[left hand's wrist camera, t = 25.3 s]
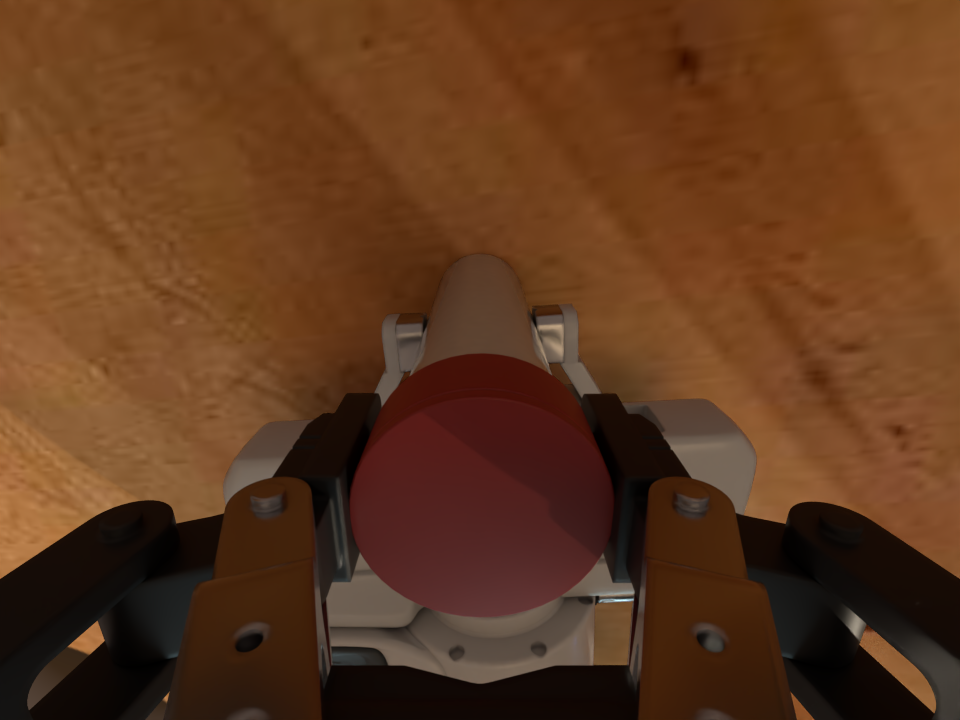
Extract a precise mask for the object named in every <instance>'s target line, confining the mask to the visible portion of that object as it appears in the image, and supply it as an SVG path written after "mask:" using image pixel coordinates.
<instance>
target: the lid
mask: <svg viewBox="0 0 960 720" xmlns="http://www.w3.org/2000/svg"><path fill="white" fill-rule="evenodd" d="M614 501H615V494H614V487H613V484H612V480H611V476H610V473H609V471H608V469H607V466H606V464H605V462H604V459H603V457H602V454H601V452H600V450H599V447H598V445H597V443H596V440H595V438H594V435H593V433H592V431H591V428H590V426H589V424H588V421H587V419H586V417H585V415H584V412H583V410H582V408H581V406H580V405H579V403H578V402H577V400H576V399H575V397H574V396H573V395H572V394H571V392H570V391H569V390H568V389H567V388H566V387H565V386H564V385H563V384H562V383H561V382H560V381H559V380H557V379H556V378H555V377H554V376H552V375H551V374H549V373H548V372H546V371H545V370H543V369H542V368H539V367H537V366H535V365H533V364H531V363H529V362H526V361H523V360H520V359H517V358H514V357H510V356H505V355H499V354H487V353H477V354H465V355H459V356H453V357H449V358H446V359H443V360H440V361H437V362H434V363H432V364H430V365H428V366H426V367H423V368H422V369H420V370H419V371H417V372H415V373H414V374H412V375H411V376H409V377H408V378H407V379H406V380H405V381H403V382H402V383H401V384H400V385H399V386H398V387H397V388H396V389H395V390H394V391H393V392H392V393H391V395H390V396H389V397H388V399H387V400H386V402H385V403H384V405H383V406H382V408H381V410H380V412H379V414H378V417H377V419H376V421H375V424H374V426H373V429H372V431H371V434H370V436H369V438H368V441H367V443H366V446H365V448H364V451H363V453H362V456H361V458H360V461H359V463H358V466H357V468H356V471H355V473H354V477H353V480H352V483H351V486H350V493H349V509H350V519H351V527H352V534H353V537H354V540H355V543H356V545H357V547H358V549H359V551H360V553H361V555H362V557H363V558H364V560H365V561H366V563H367V564H368V565H369V567H370V568H371V570H372V571H373V572H374V573H375V574H376V575H377V576H378V577H379V578H380V579H381V580H382V581H383V582H384V583H385V584H387V585H388V586H389V587H390V588H391V589H393V590H394V591H396V592H397V593H399V594H400V595H402V596H403V597H405V598H407V599H409V600H411V601H413V602H415V603H417V604H419V605H421V606H424V607H426V608H429V609H432V610H435V611H439V612H442V613H446V614H451V615H457V616H463V617H479V618H481V617H499V616H506V615H513V614H517V613H521V612H525V611H528V610H531V609H534V608H537V607H540V606H542V605H544V604H546V603H549V602H551V601H553V600H555V599H557V598H558V597H560V596H561V595H563V594H565V593H566V592H568V591H569V590H570V589H572V588H573V587H574V586H575V585H577V584H578V583H579V582H580V581H581V580H582V579H583V578H584V577H585V576H586V575H587V574H588V573H589V572H590V571H591V570H592V569H593V567H594V566H595V565H596V563H597V562H598V561H599V559H600V557H601V556H602V554H603V552H604V550H605V548H606V547H607V544H608V541H609V539H610V535H611V528H612V520H613V511H614Z"/></svg>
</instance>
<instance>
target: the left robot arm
mask: <svg viewBox="0 0 960 720" xmlns="http://www.w3.org/2000/svg"><path fill="white" fill-rule="evenodd" d="M381 408H382V405H381V398H380V395H379V393H347V394H346V395H345V397H344V398H343V400H342V402H341V404H340V405H339V407H338V409H337V410H336V412H335V413H323V414H322V415H320V416H319V417H317V418H316V419H314V420H313V421H311V422H310V423H308V424H307V426H306V427H305V429H304V430H303V432H302V433H301V435H300V436H299V439H297V441H296V442H295V444H294V445H293V448H292V449H291V450H290V451H289V453H288V454H287V456H286V457H285V459H284V460H283V462H282V463H281V465H280V466H279V467H278V469H277V470H276V472H275V473H274V475H273V476H272V478H268V479H263V480H260V481H257V482H254V483H252V484H250V485H248V486H246V487H244V488H242V489H241V490H239V491H238V492H237V493H235V494H234V495H233V496H232V497H231V498H230V499H229V501H228V502H227V504H226V507H225V512H224V514H221V515H216V516H212V517H207V518H202V519H197V520H192V521H187V522H182V523H177V524H176V521H175V517H174V513H173V510H172V508H171V507H170V506H169V505H168V504H166V503H164V502H161V501H154V500H145V501H137V502H131V503H127V504H123V505H120V506H117V507H114V508H112V509H109V510H107V511H104V512H102V513H100V514H99V515H97V516H95V517H93V518H92V519H90V520H88V521H87V522H85V523H84V524H82V525H81V526H79V527H78V528H76V529H75V530H73V531H72V532H70V533H69V534H67V535H66V536H64V537H63V538H61V539H60V540H58V541H57V542H55V543H54V544H52V545H51V546H49V547H48V548H46V549H45V550H43V551H42V552H40V553H39V554H37V555H36V556H34V557H33V558H31V559H30V560H28V561H27V562H25V563H24V564H22V565H21V566H19V567H18V568H16V569H15V570H13V571H12V572H10V573H9V574H7V575H6V576H4V577H3V578H1V579H0V720H145V719H146V718H147V717H148V716H149V715H150V713H151V712H152V711H153V710H154V709H155V708H156V706H157V705H158V704H159V703H160V702H161V701H162V700H163V698H164V697H165V696H166V695H167V694H168V693H169V691H170V693H169V697H168V701H167V706H166V710H165V714H164V719H163V720H797V718H796V714H795V710H794V706H793V701H792V697H791V693H792V694H793V695H794V696H795V697H796V698H797V699H798V701H799V702H800V703H801V704H802V705H803V706H804V708H805V709H806V710H807V711H808V712H809V713H810V715H811V716H812V717H813V718H814V719H815V720H960V579H959V578H957V577H956V576H954V575H953V574H951V573H950V572H948V571H947V570H945V569H944V568H942V567H941V566H939V565H938V564H936V563H935V562H933V561H932V560H930V559H929V558H927V557H926V556H924V555H923V554H921V553H920V552H918V551H917V550H915V549H914V548H912V547H911V546H909V545H908V544H906V543H905V542H903V541H902V540H900V539H899V538H897V537H896V536H894V535H893V534H891V533H890V532H888V531H887V530H885V529H884V528H882V527H881V526H879V525H878V524H876V523H875V522H873V521H872V520H870V519H868V518H867V517H865V516H863V515H861V514H859V513H857V512H854V511H852V510H850V509H847V508H844V507H841V506H837V505H834V504H829V503H823V502H803V503H799V504H796V505H794V506H793V507H792V508H791V509H790V511H789V514H788V518H787V521H786V524H783V523H778V522H773V521H768V520H763V519H758V518H753V517H749V516H745V515H741V514H738V513H736V512H735V507H734V504H733V502H732V501H731V499H730V498H729V497H728V496H727V495H726V494H725V493H724V492H722V491H721V490H719V489H718V488H716V487H714V486H712V485H710V484H708V483H706V482H703V481H700V480H697V479H692V478H691V476H690V475H689V473H688V472H687V470H686V469H685V467H684V466H683V464H682V463H681V461H680V460H679V459H678V457H677V456H676V454H675V453H674V451H673V450H671V447H670V445H669V444H668V442H667V441H666V439H664V436H663V435H662V433H661V432H660V431H659V429H658V428H657V426H656V425H655V424H654V423H652V422H651V421H649V420H648V419H646V418H645V417H643V416H642V415H640V414H628V413H627V411H626V409H625V408H624V406H623V404H622V403H621V401H620V399H619V398H618V396H617V394H584V395H583V397H582V402H581V408H582V410H583V412H584V415H585V417H586V419H587V421H588V424H589V426H590V428H591V431H592V433H593V435H594V438H595V440H596V443H597V445H598V447H599V450H600V452H601V454H602V457H603V459H604V462H605V464H606V466H607V469H608V471H609V473H610V476H611V480H612V484H613V487H614V494H615V501H614V511H613V520H612V528H611V535H610V539H609V541H608V544H607V547H606V548H605V550H604V552H603V554H604V557H605V560H606V564H607V567H608V570H609V573H610V576H611V579H612V582H613V583H632V586H633V589H634V591H635V592H634V599H633V606H632V615H631V627H630V639H629V651H628V663H627V665H555V666H551V667H547V668H543V669H539V670H536V671H532V672H528V673H524V674H520V675H516V676H512V677H508V678H504V679H500V680H496V681H493V682H489V683H483V684H477V683H471V682H467V681H464V680H460V679H456V678H452V677H448V676H444V675H440V674H436V673H432V672H428V671H424V670H421V669H417V668H413V667H409V666H405V665H333V663H332V651H331V639H330V627H329V615H328V606H327V599H326V598H327V596H328V593H329V590H330V587H331V584H332V582H351V580H352V577H353V573H354V570H355V567H356V564H357V560H358V557H359V554H360V551H359V549H358V547H357V545H356V543H355V540H354V537H353V534H352V527H351V519H350V509H349V493H350V486H351V483H352V480H353V477H354V473H355V471H356V468H357V466H358V463H359V461H360V458H361V456H362V453H363V451H364V448H365V446H366V443H367V441H368V438H369V436H370V434H371V431H372V429H373V426H374V424H375V421H376V419H377V417H378V414H379V412H380V410H381ZM97 620H98V623H99V626H100V628H101V631H102V634H103V637H104V639H105V641H104V642H103V643H102V644H101V645H100V646H99V647H98V648H97V649H96V650H95V651H93V652H92V653H91V654H90V655H89V656H88V657H87V658H86V659H85V660H84V661H83V662H81V663H80V664H79V665H78V666H77V667H76V668H75V669H74V670H73V671H72V672H71V673H69V674H68V675H67V676H66V677H65V678H64V679H63V680H62V681H61V682H60V683H59V684H58V685H56V686H55V687H54V688H53V689H52V690H51V691H50V692H49V693H48V694H47V695H46V696H44V697H43V698H42V699H41V700H40V701H39V702H38V703H37V704H36V705H35V706H34V707H32V708H31V709H30V710H28V706H27V698H28V693H29V690H30V688H31V686H32V683H33V682H34V680H35V678H36V677H37V675H38V674H39V673H40V671H41V670H42V669H43V668H44V667H45V666H46V665H47V664H48V663H49V662H50V661H51V660H52V659H54V658H55V657H56V656H57V655H58V654H59V653H60V652H62V651H63V650H64V649H65V648H66V647H67V646H69V645H70V644H71V643H72V642H73V641H74V640H75V639H77V638H78V637H79V636H80V635H81V634H82V633H84V632H85V631H86V630H87V629H88V628H89V627H90V626H92V625H93V624H94V623H95V622H96V621H97ZM866 624H867V625H868V626H870V627H871V628H872V629H873V630H874V631H875V632H877V633H878V634H879V635H880V636H881V637H882V638H883V639H885V640H886V641H887V642H888V643H889V644H890V645H892V646H893V647H894V648H895V649H896V650H897V651H898V652H900V653H901V654H902V655H903V656H904V657H905V658H907V659H908V660H909V661H910V662H911V663H912V664H913V665H914V666H916V667H917V668H918V669H919V670H920V672H921V673H922V674H923V675H924V677H925V678H926V679H927V681H928V682H929V684H930V686H931V688H932V690H933V692H934V695H935V699H936V711H935V713H933V712H932V711H931V710H930V709H929V708H928V707H926V706H925V705H924V704H923V703H922V702H921V701H920V700H919V699H918V698H917V697H916V696H914V695H913V694H912V693H911V692H910V691H909V690H908V689H907V688H906V687H905V686H904V685H903V684H901V683H900V682H899V681H898V680H897V679H896V678H895V677H894V676H893V675H892V674H891V673H889V672H888V671H887V670H886V669H885V668H884V667H883V666H882V665H881V664H880V663H879V662H877V661H876V660H875V659H874V658H873V657H872V656H871V655H870V654H869V653H868V652H867V651H866V650H864V649H863V648H862V647H861V646H860V645H859V644H860V641H861V638H862V635H863V633H864V630H865V627H866ZM790 691H791V693H790Z"/></svg>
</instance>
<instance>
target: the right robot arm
mask: <svg viewBox="0 0 960 720" xmlns="http://www.w3.org/2000/svg"><path fill="white" fill-rule="evenodd" d="M532 317H533V320H534V323H535V326H536V329H537V332H538V335H539V338H540V340H541V343H542V346H543V349H544V352H545V355H546V358H547V360H548V363H560V365H561V366H562V368H563V369H564V371H565V373H566V374H567V376H568V377H569V379H570V380H571V382H572V384H570V385H564V386H565V387H566V388H567V389H568V390H569V391H570V392H571V394H572V395H573V396H574V397H575V399H576V400H577V402H578V403H579V405H580V406H581V402H582V397H583V395H584V394H602V393H601V391H600V389H599V387H598V385H597V383H596V381H595V380H594V378H593V377H592V375H591V374H590V372H589V370H588V369H587V367H586V366H585V364H584V362H583V361H582V359H581V358H580V356H579V354H578V317H577V312H576V310H575V308H574V307H573V305H572V304H555V305H541V306H533V307H532ZM427 321H428V319H427V314H426V313H407V314H400V313H399V314H389V315H387V316H386V317H385V319H384V321H383V322H382V342H383V349H384V356H385V364H386V369H385V371H384V373H383V375H382V377H381V379H380V382H379V384H378V386H377V388H376V390H375V392H374V393H379V395H380V398H381V405H382V406H383V405H384V403H385V402H386V400H387V399H388V397H389V396H390V395H391V393H392V392H393V391H394V390H395V389H396V388H397V387H398V385H399V383H400V381H401V379H402V377H403V375H404V372H408V371H411V369H412V366H413V363H414V360H415V357H416V354H417V351H418V348H419V345H420V342H421V339H422V336H423V333H424V330H425V327H426V324H427ZM622 404H623V406H624V408H625V409H626V411H627V413H628V414H640V415H642V416H643V417H645V418H646V419H648V420H649V421H651V422H652V423H654V424H655V425H656V426H657V428H658V429H659V431H660V432H661V433H662V435H663V436H664V439H666V441H667V442H668V444H669V445H670V447H671V450H673V451H674V453H675V454H676V456H677V457H678V459H679V460H680V461H681V463H682V464H683V466H684V467H685V469H686V470H687V472H688V473H689V475H690V476H691V478H692V479H697V480H700V481H703V482H706V483H708V484H710V485H712V486H714V487H716V488H718V489H719V490H721V491H722V492H724V493H725V494H726V495H727V496H728V497H729V498H730V499H731V501H732V502H733V504H734V507H735V512H736V513H738V514H741V515H744V512H745V509H746V506H747V502H748V499H749V495H750V491H751V488H752V483H753V479H754V475H755V469H756V460H757V457H756V452H755V449H754V447H753V445H752V444H751V442H750V441H749V439H748V438H747V436H746V435H745V434H744V433H743V432H742V430H741V429H740V428H739V427H738V426H737V425H736V423H735V422H734V421H733V420H732V419H730V418H729V417H728V416H727V415H726V414H725V413H724V412H723V411H722V410H720V409H719V408H718V407H717V406H716V405H715V404H713V403H712V402H710V401H708V400H706V399H680V400H662V401H644V402H625V403H622ZM311 421H313V420H296V421H277V422H270V423H267V424H266V425H264V426H263V427H262V428H260V429H259V430H258V432H257V433H256V434H255V435H254V436H253V437H252V438H251V439H250V440H249V441H248V442H247V444H246V445H245V446H244V447H243V448H242V450H241V451H240V452H239V454H238V455H237V456H236V458H235V459H234V461H233V462H232V464H231V466H230V467H229V469H228V471H227V473H226V476H225V479H224V484H223V492H224V499H225V503H226V504H227V502H228V501H229V499H230V498H231V497H232V496H233V495H234V494H235V493H237V492H238V491H239V490H241V489H242V488H244V487H246V486H248V485H250V484H252V483H254V482H257V481H260V480H263V479H268V478H272V476H273V475H274V473H275V472H276V470H277V469H278V467H279V466H280V465H281V463H282V462H283V460H284V459H285V457H286V456H287V454H288V453H289V451H290V450H291V449H292V448H293V445H294V444H295V442H296V441H297V439H299V436H300V435H301V433H302V432H303V430H304V429H305V427H306V426H307V424H308V423H310V422H311ZM634 592H635V591H634V589H633V586H632V583H613V582H612V579H611V576H610V573H609V570H608V567H607V564H606V560H605V557H604V554H602V556H601V557H600V559H599V561H598V562H597V563H596V565H595V566H594V567H593V569H592V570H591V571H590V572H589V573H588V574H587V575H586V576H585V577H584V578H583V579H582V580H581V581H580V582H579V583H578V584H577V585H575V586H574V587H573V588H572V589H570V590H569V591H568V592H566V593H565V594H563V595H561V596H560V597H558V598H557V599H555V600H553V601H551V602H549V603H546V604H544V605H542V606H540V607H537V608H534V609H531V610H528V611H525V612H521V613H517V614H513V615H506V616H499V617H481V618H479V617H463V616H457V615H451V614H446V613H442V612H439V611H435V610H432V609H429V608H426V607H424V606H421V605H419V604H417V603H415V602H413V601H411V600H409V599H407V598H405V597H403V596H402V595H400V594H399V593H397V592H396V591H394V590H393V589H391V588H390V587H389V586H388V585H387V584H385V583H384V582H383V581H382V580H381V579H380V578H379V577H378V576H377V575H376V574H375V573H374V572H373V571H372V570H371V568H370V567H369V565H368V564H367V563H366V561H365V560H364V558H363V557H362V555H361V553H360V554H359V557H358V560H357V564H356V567H355V570H354V573H353V577H352V580H351V582H332V584H331V587H330V590H329V593H328V596H327V598H326V599H327V606H328V615H329V627H330V639H331V651H332V663H333V665H405V666H409V667H413V668H417V669H421V670H424V671H428V672H432V673H436V674H440V675H444V676H448V677H452V678H456V679H460V680H464V681H467V682H471V683H477V684H483V683H489V682H493V681H496V680H500V679H504V678H508V677H512V676H516V675H520V674H524V673H528V672H532V671H536V670H539V669H543V668H547V667H551V666H555V665H594V664H593V660H594V627H595V605H596V604H597V603H614V602H631V601H633V599H634Z"/></svg>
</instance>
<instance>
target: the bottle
mask: <svg viewBox="0 0 960 720" xmlns="http://www.w3.org/2000/svg"><path fill="white" fill-rule="evenodd" d="M477 353H487V354H499V355H505V356H510V357H514V358H517V359H520V360H523V361H526V362H529V363H531V364H533V365H535V366H537V367H539V368H542V369H543V370H545V371H546V372H548V373H549V374H551V375H552V372H551V369H550V366H549V363H548V360H547V358H546V355H545V352H544V349H543V346H542V343H541V340H540V338H539V335H538V332H537V329H536V326H535V323H534V320H533V317H532V315H531V312H530V309H529V306H528V303H527V300H526V297H525V294H524V292H523V289H522V286H521V283H520V280H519V278H518V276H517V274H516V273H515V271H514V270H513V269H512V268H511V267H510V266H509V265H508V264H507V263H506V262H504V261H503V260H501V259H499V258H497V257H495V256H491V255H487V254H474V255H469V256H466V257H463V258H461V259H459V260H458V261H456V262H455V263H454V264H452V265H451V266H450V267H449V268H448V269H447V271H446V272H445V274H444V275H443V277H442V279H441V282H440V285H439V288H438V291H437V294H436V297H435V300H434V303H433V306H432V309H431V312H430V315H429V318H428V321H427V324H426V327H425V330H424V333H423V336H422V339H421V342H420V345H419V348H418V351H417V354H416V357H415V360H414V363H413V366H412V369H411V372H410V375H409V376H411V375H412V374H414V373H415V372H417V371H419V370H420V369H422V368H423V367H426V366H428V365H430V364H432V363H434V362H437V361H440V360H443V359H446V358H449V357H453V356H459V355H465V354H477ZM552 376H553V375H552Z"/></svg>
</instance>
